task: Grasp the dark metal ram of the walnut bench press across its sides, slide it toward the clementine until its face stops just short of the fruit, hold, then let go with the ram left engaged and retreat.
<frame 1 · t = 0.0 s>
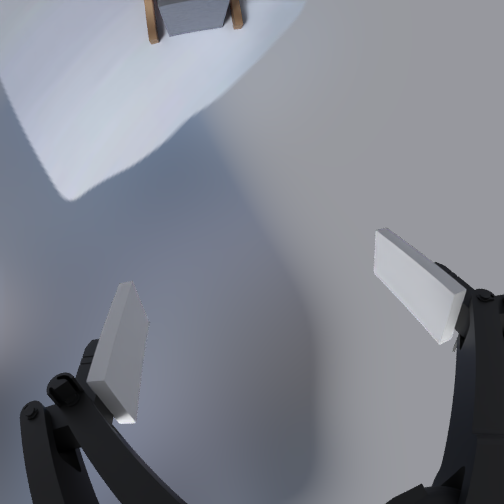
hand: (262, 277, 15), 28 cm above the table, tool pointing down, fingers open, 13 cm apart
ram: (192, 2, 24), point 6 cm above the table, slide at 0.0 cm
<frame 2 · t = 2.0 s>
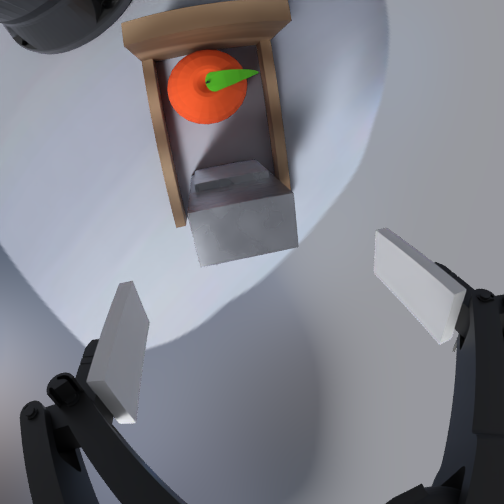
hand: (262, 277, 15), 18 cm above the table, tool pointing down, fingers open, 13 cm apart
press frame: (217, 121, 27), on the table
ram: (234, 200, 25), point 6 cm above the table, slide at 0.0 cm
clementine: (211, 88, 26), resting in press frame
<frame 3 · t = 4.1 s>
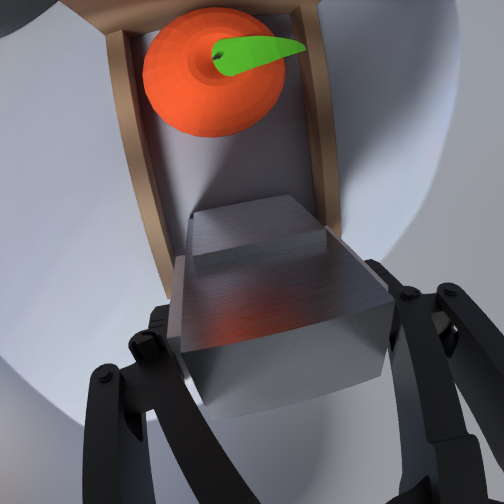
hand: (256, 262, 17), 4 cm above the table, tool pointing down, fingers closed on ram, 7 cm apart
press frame: (228, 131, 17), on the table
ram: (263, 276, 15), point 6 cm above the table, slide at 0.0 cm, touching gripper
clementine: (219, 77, 16), resting in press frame
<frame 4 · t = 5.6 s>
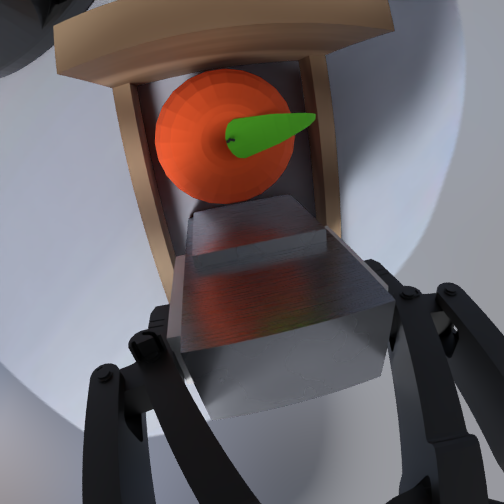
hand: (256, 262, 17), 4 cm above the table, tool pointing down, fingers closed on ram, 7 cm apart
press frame: (237, 183, 19), on the table
ram: (263, 276, 15), point 6 cm above the table, slide at 3.4 cm, touching gripper
clementine: (228, 129, 17), resting in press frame
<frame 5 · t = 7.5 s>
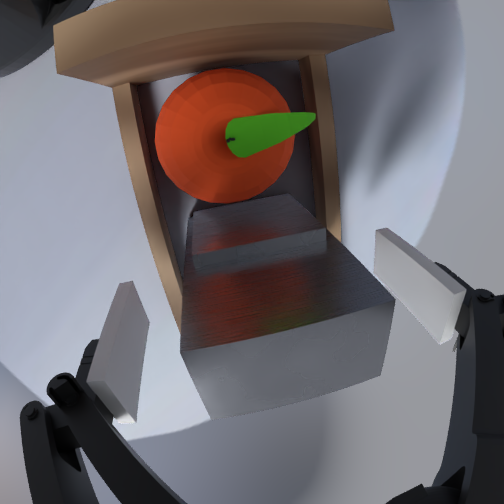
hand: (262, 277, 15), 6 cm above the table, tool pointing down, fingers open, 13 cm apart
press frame: (237, 183, 19), on the table
ram: (263, 276, 15), point 6 cm above the table, slide at 3.4 cm
clementine: (228, 129, 17), resting in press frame
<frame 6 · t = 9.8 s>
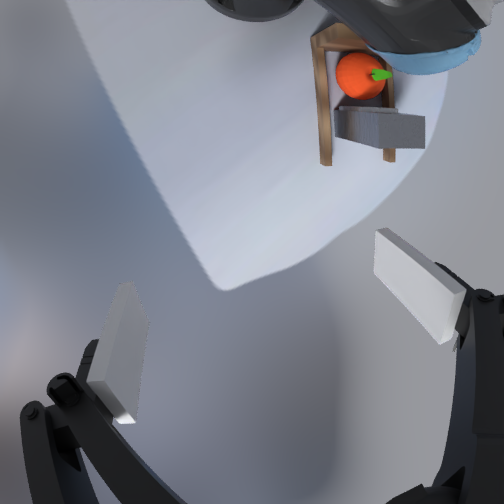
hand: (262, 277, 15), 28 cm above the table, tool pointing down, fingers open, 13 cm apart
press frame: (354, 99, 38), on the table
ram: (376, 124, 34), point 6 cm above the table, slide at 3.4 cm
clementine: (351, 77, 36), resting in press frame
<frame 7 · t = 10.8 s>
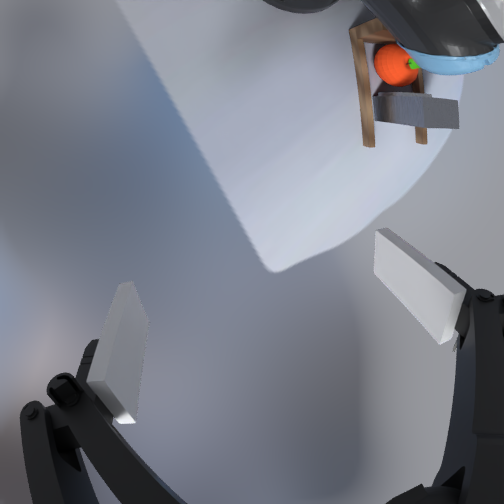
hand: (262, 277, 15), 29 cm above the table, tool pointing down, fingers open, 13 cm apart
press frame: (389, 87, 38), on the table
ram: (414, 108, 34), point 6 cm above the table, slide at 3.4 cm
clementine: (385, 67, 37), resting in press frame
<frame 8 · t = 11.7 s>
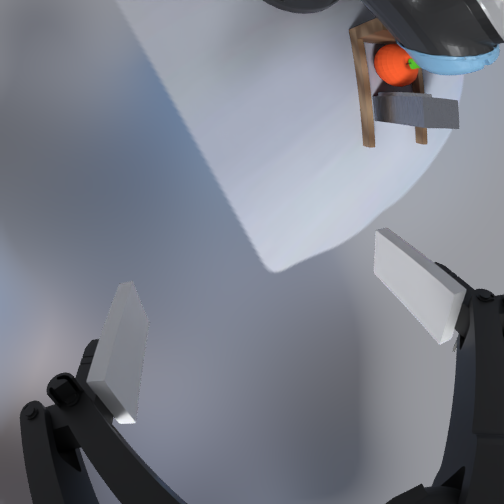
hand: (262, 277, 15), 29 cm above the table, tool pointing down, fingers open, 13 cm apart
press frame: (389, 87, 38), on the table
ram: (414, 108, 34), point 6 cm above the table, slide at 3.4 cm
clementine: (385, 66, 37), resting in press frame
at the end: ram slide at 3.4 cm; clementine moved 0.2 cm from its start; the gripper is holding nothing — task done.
